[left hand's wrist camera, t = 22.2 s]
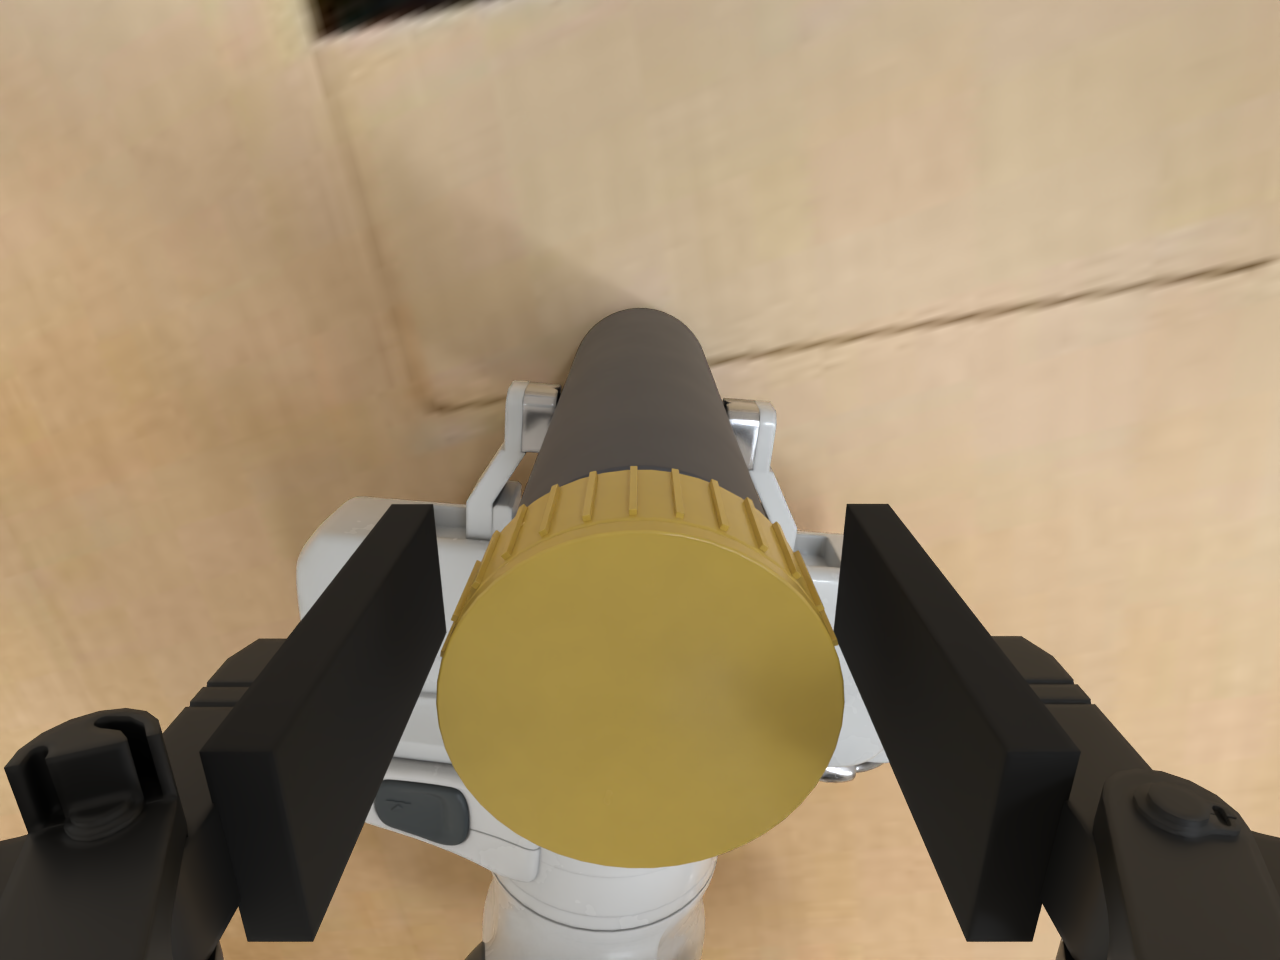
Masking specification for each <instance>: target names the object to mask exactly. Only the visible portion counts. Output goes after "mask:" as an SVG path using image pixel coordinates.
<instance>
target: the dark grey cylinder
mask: <svg viewBox="0 0 1280 960" xmlns="http://www.w3.org/2000/svg"><path fill="white" fill-rule="evenodd" d="M630 466H637V467H638V470H658V471H666V472H671V469H672V468H673V469H678V470H679V474H683V475H687V476H691V477H695V478H699V479H702V480H704V481H707V482H710V481H711V479H713V480H716V481H718V484H719V486H720V487H722V488H724V489H726V490H728V491H729V492H731V493H733V494H735V495H737V496H739V497H740V498H742V499H743V500H745V499H746V497H748V498H750V499H751V500H752V501H753V504H754V507H755V508H756V509H757V510H759V511H760V512H761V513H762V514H763V515H764V516H765V513H764V510H763V508H762V505H761V502H760V500H759V497H758V495H757V492H756V489H755V487H754V484H753V481H752V479H751V476H750V473H749V471H748V468H747V466H746V463H745V460H744V458H743V455H742V452H741V450H740V447H739V444H738V442H737V439H736V437H735V434H734V431H733V429H732V426H731V423H730V421H729V418H728V416H727V413H726V410H725V408H724V405H723V402H722V400H721V397H720V394H719V392H718V389H717V387H716V384H715V381H714V379H713V376H712V373H711V371H710V368H709V365H708V363H707V360H706V358H705V355H704V352H703V350H702V347H701V345H700V343H699V342H698V340H697V338H696V337H695V336H694V334H693V333H692V332H691V331H690V330H689V328H688V327H687V326H686V325H684V324H683V323H682V322H681V321H679V320H678V319H676V318H674V317H673V316H671V315H669V314H666V313H664V312H661V311H658V310H653V309H647V308H634V309H627V310H623V311H619V312H617V313H614V314H611V315H610V316H608V317H606V318H604V319H603V320H601V321H600V322H599V323H597V324H596V325H595V326H594V327H593V328H592V329H591V330H590V331H589V332H588V333H587V335H586V336H585V337H584V339H583V341H582V342H581V344H580V346H579V348H578V351H577V353H576V356H575V358H574V361H573V364H572V366H571V369H570V372H569V374H568V377H567V380H566V382H565V385H564V388H563V390H562V393H561V395H560V398H559V401H558V403H557V406H556V409H555V411H554V414H553V417H552V419H551V422H550V424H549V427H548V430H547V432H546V435H545V438H544V440H543V443H542V446H541V448H540V451H539V454H538V456H537V459H536V461H535V464H534V467H533V469H532V472H531V475H530V477H529V480H528V483H527V485H526V488H525V490H524V493H523V496H522V498H521V501H520V504H519V506H518V509H519V507H520V506H521V505H523V504H525V506H526V507H528V506H529V505H530V504H532V503H533V502H534V501H536V500H537V499H539V498H540V497H542V496H544V495H546V494H548V493H549V492H550V490H551V487H552V486H553V485H556V484H558V485H559V487H561V486H563V485H566V484H569V483H571V482H574V481H576V480H579V479H582V478H586V477H589V473H590V472H593V471H596V472H597V474H601V473H607V472H615V471H623V470H630ZM518 509H517V511H518ZM516 514H517V512H516ZM516 514H515V516H516ZM765 517H766V516H765ZM514 518H515V517H514Z"/></svg>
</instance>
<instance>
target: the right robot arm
mask: <svg viewBox="0 0 1280 960" xmlns="http://www.w3.org/2000/svg"><path fill="white" fill-rule="evenodd" d="M560 395H561V385H558V384H548V383H538V382H529V381H515V380H513V382H512V383H511V385H510V387H509V388H508V392H507V398H506V407H505V440H504V442H503V443H502V445H501V446H500V448H499V449H498V451H497V452H496V454H495V455H494V457H493V458H492V460H491V461H490V463H489V464H488V466H487V467H486V469H485V470H484V472H483V473H482V475H481V476H480V478H479V480H478V482H477V483H476V485H475V487H474V489H473V491H472V493H471V494H470V496H469V498H468V500H467V502H466V505H465V504H452V503H440V502H427V501H414V500H402V499H389V498H377V497H364V496H361V497H353V498H351V499H349V500H347V501H346V502H344V503H343V504H342V505H341V506H340V507H339V508H338V509H337V510H336V511H334V512H333V513H332V514H331V515H330V516H329V517H328V518H327V519H326V520H324V522H323V523H322V524H321V525H320V526H319V527H318V528H317V529H316V530H315V532H314V533H313V534H312V535H311V537H310V538H309V539H308V540H307V542H306V543H305V545H304V546H303V548H302V550H301V552H300V555H299V557H298V561H297V566H296V587H297V598H298V607H299V615H300V621H301V620H302V619H303V617H304V616H305V615H306V614H307V612H308V611H309V610H310V608H311V607H312V606H313V605H314V603H315V602H316V601H317V599H318V598H319V597H320V596H321V594H322V593H323V592H324V590H325V589H326V588H327V587H328V585H329V584H330V583H331V581H332V580H333V579H334V578H335V576H336V575H337V574H338V572H339V571H340V570H341V569H342V567H343V566H344V565H345V563H346V562H347V561H348V560H349V558H350V557H351V556H352V554H353V553H354V552H355V551H356V549H357V548H358V547H359V545H360V544H361V543H362V542H363V540H364V539H365V538H366V536H367V535H368V534H369V533H370V531H371V530H372V529H373V527H374V526H375V525H376V524H377V522H378V521H379V520H380V518H381V517H382V516H383V515H384V513H385V512H386V511H387V509H388V508H389V507H390V506H391V504H433V507H434V517H435V526H436V536H437V545H438V555H439V564H440V574H441V583H442V593H443V602H444V612H445V621H446V631H447V633H446V635H445V638H444V640H443V642H442V644H441V647H440V649H439V651H438V654H437V656H436V658H435V661H434V663H433V665H432V668H431V670H430V672H429V675H428V677H427V679H426V682H425V684H424V686H423V688H422V691H421V693H420V695H419V698H418V700H417V702H416V705H415V707H414V709H413V712H412V714H411V716H410V719H409V721H408V723H407V725H406V728H405V730H404V732H403V735H402V737H401V739H400V742H399V744H398V746H397V749H396V751H395V753H394V756H393V758H392V760H391V762H390V765H389V767H388V769H387V772H386V774H385V776H384V779H383V781H382V783H381V786H380V788H379V790H378V793H377V795H376V797H375V800H374V802H373V804H372V806H371V809H370V811H369V813H368V816H367V818H366V820H365V823H368V824H371V825H374V826H377V827H380V828H383V829H387V830H390V831H393V832H396V833H399V834H402V835H406V836H409V837H412V838H415V839H418V840H420V841H423V842H426V843H429V844H432V845H434V846H437V847H439V848H442V849H444V850H447V851H450V852H452V853H454V854H457V855H459V856H461V857H463V858H466V859H468V860H470V861H472V862H474V863H476V864H478V865H480V866H482V867H484V868H486V869H488V870H490V871H491V873H492V876H493V879H492V881H491V884H490V886H489V890H488V893H487V897H486V901H485V905H484V911H483V928H482V942H481V943H480V944H479V945H478V946H477V947H476V948H475V949H474V950H473V951H472V952H471V953H470V954H469V955H468V956H467V958H466V959H465V960H701V956H702V950H703V945H704V936H705V910H704V903H703V898H702V897H703V895H704V893H705V891H706V889H707V888H708V886H709V884H710V881H711V879H712V876H713V873H714V870H715V867H716V862H717V857H718V856H715V857H712V858H709V859H705V860H702V861H698V862H693V863H688V864H683V865H678V866H670V867H660V868H621V867H611V866H603V865H598V864H592V863H587V862H582V861H579V860H575V859H572V858H569V857H566V856H562V855H559V854H556V853H554V852H552V851H549V850H547V849H545V848H542V847H540V846H538V845H536V844H534V843H532V842H530V841H528V840H527V839H525V838H523V837H521V836H519V835H518V834H516V833H514V832H513V831H512V830H510V829H509V828H508V827H506V826H505V825H503V824H502V823H501V822H499V821H498V820H497V819H496V818H494V817H493V816H492V815H491V814H490V813H489V812H488V811H487V810H486V809H485V808H484V807H482V806H481V805H480V803H479V802H478V801H477V800H476V799H475V798H474V796H473V795H472V794H471V793H470V792H469V790H468V789H467V788H466V787H465V785H464V784H463V782H462V780H461V779H460V777H459V776H458V774H457V772H456V771H455V769H454V767H453V765H452V763H451V761H450V759H449V756H448V754H447V752H446V750H445V747H444V743H443V740H442V736H441V733H440V729H439V724H438V716H437V708H436V693H437V679H438V674H439V669H440V664H441V659H442V657H440V653H441V650H442V647H443V645H444V643H445V640H446V638H447V635H448V633H449V631H450V628H451V626H452V624H453V621H451V618H452V615H453V613H454V611H455V608H456V606H457V604H458V602H459V599H460V597H461V595H462V592H463V590H464V588H465V586H466V583H467V581H468V579H469V576H470V574H471V572H472V570H473V567H474V565H475V563H476V561H477V560H479V561H482V559H483V556H484V554H485V551H486V549H487V547H488V544H489V542H490V540H491V537H492V535H493V533H494V532H495V531H496V530H498V531H499V532H501V531H502V530H503V529H504V527H505V526H506V525H507V524H508V523H509V522H510V521H511V520H512V519H514V517H515V514H516V512H517V509H518V506H519V504H520V501H521V484H520V483H519V481H508V479H509V478H510V476H511V475H512V473H513V472H514V470H515V469H516V467H517V466H518V464H519V463H520V461H521V460H522V458H523V457H524V455H525V454H526V452H537V453H539V451H540V448H541V446H542V443H543V440H544V438H545V435H546V432H547V430H548V427H549V424H550V422H551V419H552V417H553V414H554V411H555V409H556V406H557V403H558V401H559V398H560ZM722 402H723V405H724V408H725V410H726V413H727V416H728V418H729V421H730V423H731V426H732V429H733V431H734V434H735V437H736V439H737V442H738V444H739V447H740V450H741V452H742V455H743V458H744V460H745V463H746V466H747V468H748V471H749V473H750V476H751V479H752V481H753V484H754V487H755V489H756V491H757V493H758V496H759V498H760V500H761V505H762V508H763V510H764V513H765V516H766V518H767V519H768V520H769V521H770V522H771V523H772V524H773V523H775V522H776V521H777V522H778V523H779V524H780V525H781V528H782V530H783V533H784V535H785V537H786V540H787V542H788V543H789V545H790V547H791V548H792V550H793V552H796V551H798V550H799V552H800V554H801V555H802V558H803V560H804V562H805V565H806V567H807V569H808V572H809V574H810V576H811V578H812V581H813V583H814V585H815V588H816V590H817V592H818V594H819V597H820V599H821V601H822V604H823V606H824V608H825V609H824V610H825V613H826V615H827V617H828V620H829V622H830V624H831V627H832V629H833V631H834V621H835V612H836V602H837V593H838V583H839V574H840V564H841V555H842V545H843V536H844V534H834V533H821V532H809V531H797V527H796V525H795V522H794V520H793V517H792V515H791V513H790V510H789V508H788V506H787V503H786V501H785V499H784V496H783V494H782V492H781V489H780V487H779V485H778V482H777V480H776V477H775V475H774V473H773V471H772V468H771V466H770V463H771V457H772V450H773V444H774V437H775V431H776V410H775V409H774V407H773V405H772V404H771V402H769V401H756V400H744V399H730V398H724V399H723V401H722ZM834 647H835V649H836V652H837V655H838V657H839V661H840V666H841V671H842V675H843V680H844V699H845V704H844V713H843V723H842V728H841V731H840V735H839V739H838V742H837V746H836V749H835V751H834V753H833V756H832V758H831V760H830V762H829V765H828V767H827V769H826V770H825V772H824V774H823V775H822V777H821V778H820V780H819V781H821V782H828V783H841V782H848V781H852V780H853V779H854V778H855V774H856V773H859V772H865V771H868V770H872V769H874V768H876V767H878V766H880V765H882V764H884V763H889V760H888V758H887V756H886V753H885V751H884V749H883V746H882V744H881V742H880V739H879V737H878V735H877V732H876V730H875V728H874V725H873V723H872V721H871V719H870V716H869V714H868V712H867V709H866V707H865V705H864V702H863V700H862V698H861V695H860V693H859V691H858V688H857V686H856V684H855V682H854V679H853V677H852V675H851V672H850V670H849V668H848V665H847V663H846V661H845V658H844V656H843V654H842V651H841V649H840V647H839V644H838V645H837V646H834Z"/></svg>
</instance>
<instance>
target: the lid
mask: <svg viewBox="0 0 1280 960" xmlns="http://www.w3.org/2000/svg"><path fill="white" fill-rule="evenodd" d="M824 609H825V608H824V606H823V604H822V601H821V599H820V597H819V594H818V592H817V590H816V588H815V585H814V583H813V581H812V578H811V576H810V574H809V572H808V569H807V567H806V565H805V562H804V560H803V558H802V555H801V554H800V552H799V550H798V551H796V552H793V550H792V548H791V547H790V545H789V543H788V542H787V540H786V537H785V535H784V533H783V530H782V528H781V525H780V524H779V523H778V522H777V521H776V522H775V523H773V524H772V523H771V522H770V521H769V520H768V519H767V518H766V517H765V516H764V515H763V514H762V513H761V512H760V511H759V510H757V509H756V508H755V507H754V504H753V501H752V500H751V499H750V498H748V497H746V499H745V500H743V499H742V498H740V497H739V496H737V495H735V494H733V493H731V492H729V491H728V490H726V489H724V488H722V487H720V486H719V484H718V481H716V480H713V479H711V481H710V482H707V481H704V480H702V479H699V478H695V477H691V476H687V475H683V474H679V470H678V469H673V468H672V469H671V472H666V471H658V470H638V467H637V466H630V470H623V471H615V472H607V473H601V474H597V472H596V471H593V472H590V473H589V477H586V478H582V479H579V480H576V481H574V482H571V483H569V484H566V485H563V486H561V487H559V485H558V484H556V485H553V486H552V487H551V490H550V492H549V493H548V494H546V495H544V496H542V497H540V498H539V499H537V500H536V501H534V502H533V503H532V504H530V505H529V506H528V507H526V506H525V504H523V505H521V506H520V507H519V509H518V511H517V514H516V516H515V518H514V519H512V520H511V521H510V522H509V523H508V524H507V525H506V526H505V527H504V529H503V530H502V531H501V532H499V531H498V530H496V531H495V532H494V533H493V535H492V537H491V540H490V542H489V544H488V547H487V549H486V551H485V554H484V556H483V559H482V561H479V560H477V561H476V563H475V565H474V567H473V570H472V572H471V574H470V576H469V579H468V581H467V583H466V586H465V588H464V590H463V592H462V595H461V597H460V599H459V602H458V604H457V606H456V608H455V611H454V613H453V615H452V618H451V621H453V624H452V626H451V628H450V631H449V633H448V635H447V638H446V640H445V643H444V645H443V647H442V650H441V653H440V657H442V659H441V664H440V669H439V674H438V679H437V693H436V708H437V716H438V724H439V729H440V733H441V736H442V740H443V743H444V747H445V750H446V752H447V754H448V756H449V759H450V761H451V763H452V765H453V767H454V769H455V771H456V772H457V774H458V776H459V777H460V779H461V780H462V782H463V784H464V785H465V787H466V788H467V789H468V790H469V792H470V793H471V794H472V795H473V796H474V798H475V799H476V800H477V801H478V802H479V803H480V805H481V806H482V807H484V808H485V809H486V810H487V811H488V812H489V813H490V814H491V815H492V816H493V817H494V818H496V819H497V820H498V821H499V822H501V823H502V824H503V825H505V826H506V827H508V828H509V829H510V830H512V831H513V832H514V833H516V834H518V835H519V836H521V837H523V838H525V839H527V840H528V841H530V842H532V843H534V844H536V845H538V846H540V847H542V848H545V849H547V850H549V851H552V852H554V853H556V854H559V855H562V856H566V857H569V858H572V859H575V860H579V861H582V862H587V863H592V864H598V865H603V866H611V867H621V868H660V867H670V866H678V865H683V864H688V863H693V862H698V861H702V860H705V859H709V858H712V857H715V856H718V855H721V854H724V853H727V852H729V851H731V850H734V849H736V848H738V847H741V846H743V845H745V844H747V843H749V842H751V841H752V840H754V839H756V838H758V837H759V836H761V835H763V834H765V833H766V832H768V831H769V830H770V829H772V828H773V827H775V826H776V825H777V824H779V823H780V822H781V821H783V820H784V819H785V818H786V817H787V816H788V815H790V814H791V813H792V812H793V811H794V810H795V809H796V808H797V807H798V806H799V805H800V804H801V803H802V802H803V801H804V800H805V798H806V797H807V796H808V795H809V794H810V792H811V791H812V790H813V789H814V788H815V786H816V785H817V783H818V782H819V780H820V778H821V777H822V775H823V774H824V772H825V770H826V769H827V767H828V765H829V762H830V760H831V758H832V756H833V753H834V751H835V749H836V746H837V742H838V739H839V735H840V731H841V728H842V723H843V713H844V704H845V699H844V680H843V675H842V671H841V666H840V661H839V657H838V655H837V652H836V649H835V647H834V646H837V645H838V641H837V638H836V636H835V633H834V631H833V629H832V627H831V624H830V622H829V620H828V617H827V615H826V613H825V610H824Z"/></svg>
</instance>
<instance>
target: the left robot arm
mask: <svg viewBox="0 0 1280 960" xmlns="http://www.w3.org/2000/svg"><path fill="white" fill-rule="evenodd" d="M446 633H447V631H446V621H445V612H444V602H443V593H442V583H441V574H440V564H439V555H438V545H437V536H436V526H435V517H434V507H433V504H391V506H390V507H389V508H388V509H387V511H386V512H385V513H384V515H383V516H382V517H381V518H380V520H379V521H378V522H377V524H376V525H375V526H374V527H373V529H372V530H371V531H370V533H369V534H368V535H367V536H366V538H365V539H364V540H363V542H362V543H361V544H360V545H359V547H358V548H357V549H356V551H355V552H354V553H353V554H352V556H351V557H350V558H349V560H348V561H347V562H346V563H345V565H344V566H343V567H342V569H341V570H340V571H339V572H338V574H337V575H336V576H335V578H334V579H333V580H332V581H331V583H330V584H329V585H328V587H327V588H326V589H325V590H324V592H323V593H322V594H321V596H320V597H319V598H318V599H317V601H316V602H315V603H314V605H313V606H312V607H311V608H310V610H309V611H308V612H307V614H306V615H305V616H304V617H303V619H302V620H301V621H300V623H299V624H298V625H297V626H296V628H295V629H294V630H293V632H292V633H291V634H290V635H289V637H288V638H287V639H258V640H256V641H255V642H253V643H252V644H250V645H248V646H247V647H245V648H244V649H242V650H241V651H239V652H238V653H236V654H234V655H233V656H231V657H230V658H228V659H227V660H226V661H225V662H224V664H223V665H222V666H221V667H220V668H219V669H218V670H217V672H216V673H215V674H214V675H213V676H212V677H211V678H210V680H209V681H208V682H207V687H203V688H202V689H201V690H200V691H199V692H198V693H197V695H196V696H195V697H194V698H193V699H192V700H191V701H190V706H189V707H185V708H184V709H183V711H182V712H181V713H180V714H179V715H178V716H177V718H176V719H175V720H174V721H173V722H172V723H171V724H170V726H169V727H168V728H167V729H166V730H165V731H164V732H163V734H162V731H161V727H160V724H159V720H158V719H157V718H155V717H154V716H152V715H151V714H150V713H148V712H147V711H142V710H135V709H129V708H122V709H113V710H104V711H98V712H95V713H91V714H88V715H84V716H81V717H78V718H74V719H71V720H69V721H66V722H64V723H62V724H60V725H58V726H56V727H54V728H52V729H50V730H48V731H45V732H43V733H42V734H40V735H39V736H37V737H36V738H35V739H33V740H32V741H30V742H29V743H28V744H26V745H25V746H23V747H22V748H21V749H19V750H18V751H17V752H16V754H15V755H14V756H13V757H12V759H11V760H10V761H9V762H8V763H7V765H6V766H5V767H4V769H5V772H6V775H7V777H8V780H9V783H10V785H11V788H12V791H13V794H14V796H15V799H16V802H17V804H18V807H19V810H20V812H21V815H22V818H23V820H24V823H25V826H26V828H27V831H28V835H24V836H21V837H17V838H12V839H8V840H3V841H0V960H224V959H223V953H222V949H221V945H220V942H219V940H220V938H221V936H222V935H223V933H224V931H225V929H226V927H227V926H228V924H229V922H230V920H231V918H232V917H233V915H234V913H235V911H236V909H237V908H238V906H239V910H240V914H241V918H242V921H243V925H244V929H245V933H246V937H247V941H248V942H313V941H314V938H315V936H316V934H317V931H318V929H319V927H320V924H321V922H322V920H323V918H324V915H325V913H326V911H327V908H328V906H329V904H330V901H331V899H332V897H333V894H334V892H335V890H336V887H337V885H338V883H339V881H340V878H341V876H342V874H343V871H344V869H345V867H346V864H347V862H348V860H349V857H350V855H351V853H352V850H353V848H354V846H355V843H356V841H357V839H358V837H359V834H360V832H361V830H362V827H363V825H364V823H365V820H366V818H367V816H368V813H369V811H370V809H371V806H372V804H373V802H374V800H375V797H376V795H377V793H378V790H379V788H380V786H381V783H382V781H383V779H384V776H385V774H386V772H387V769H388V767H389V765H390V762H391V760H392V758H393V756H394V753H395V751H396V749H397V746H398V744H399V742H400V739H401V737H402V735H403V732H404V730H405V728H406V725H407V723H408V721H409V719H410V716H411V714H412V712H413V709H414V707H415V705H416V702H417V700H418V698H419V695H420V693H421V691H422V688H423V686H424V684H425V682H426V679H427V677H428V675H429V672H430V670H431V668H432V665H433V663H434V661H435V658H436V656H437V654H438V651H439V649H440V647H441V644H442V642H443V640H444V638H445V635H446ZM834 633H835V636H836V638H837V641H838V644H839V647H840V649H841V651H842V654H843V656H844V658H845V661H846V663H847V665H848V668H849V670H850V672H851V675H852V677H853V679H854V682H855V684H856V686H857V688H858V691H859V693H860V695H861V698H862V700H863V702H864V705H865V707H866V709H867V712H868V714H869V716H870V719H871V721H872V723H873V725H874V728H875V730H876V732H877V735H878V737H879V739H880V742H881V744H882V746H883V749H884V751H885V753H886V756H887V758H888V760H889V763H890V765H891V767H892V769H893V772H894V774H895V776H896V779H897V781H898V783H899V786H900V788H901V790H902V793H903V795H904V797H905V800H906V802H907V804H908V806H909V809H910V811H911V813H912V816H913V818H914V820H915V823H916V825H917V827H918V830H919V832H920V834H921V837H922V839H923V841H924V844H925V846H926V848H927V850H928V853H929V855H930V857H931V860H932V862H933V864H934V867H935V869H936V871H937V874H938V876H939V878H940V881H941V883H942V885H943V887H944V890H945V892H946V894H947V897H948V899H949V901H950V904H951V906H952V908H953V911H954V913H955V915H956V918H957V920H958V922H959V924H960V927H961V929H962V931H963V934H964V936H965V938H966V941H967V942H1032V941H1033V937H1034V933H1035V929H1036V925H1037V921H1038V918H1039V914H1040V910H1041V906H1042V904H1043V906H1044V907H1045V909H1046V911H1047V913H1048V915H1049V916H1050V918H1051V920H1052V922H1053V923H1054V925H1055V927H1056V929H1057V931H1058V932H1059V934H1060V936H1061V942H1060V945H1059V949H1058V953H1057V956H1056V960H1280V838H1278V837H1274V836H1269V835H1265V834H1261V833H1257V832H1254V831H1251V830H1250V829H1249V827H1248V826H1247V824H1246V823H1245V822H1244V820H1243V819H1242V817H1241V816H1240V814H1239V813H1238V812H1237V811H1235V810H1234V809H1233V808H1232V807H1230V806H1229V805H1228V804H1227V803H1226V802H1224V801H1223V800H1222V799H1221V798H1220V797H1218V796H1217V795H1215V794H1214V793H1212V792H1210V791H1208V790H1206V789H1204V788H1202V787H1201V786H1199V785H1197V784H1195V783H1193V782H1191V781H1189V780H1186V779H1183V778H1180V777H1177V776H1174V775H1171V774H1168V773H1165V772H1162V771H1155V770H1152V769H1151V768H1150V767H1149V765H1148V764H1147V763H1146V762H1145V761H1144V760H1143V759H1142V757H1141V756H1140V755H1139V754H1138V753H1137V752H1136V751H1135V749H1134V748H1133V747H1132V746H1131V745H1130V744H1129V743H1128V741H1127V740H1126V739H1125V738H1124V737H1123V736H1122V735H1121V733H1120V732H1119V731H1118V730H1117V729H1116V728H1115V727H1114V725H1113V724H1112V723H1111V722H1110V721H1109V720H1108V719H1107V717H1106V716H1105V715H1104V714H1103V713H1102V712H1101V711H1100V709H1099V708H1098V707H1097V706H1096V705H1095V704H1091V699H1090V698H1089V697H1088V696H1087V695H1086V693H1085V692H1084V691H1083V690H1082V689H1081V688H1080V687H1079V685H1078V684H1074V682H1073V679H1072V678H1071V676H1070V675H1069V674H1068V673H1067V672H1066V671H1065V670H1064V668H1063V667H1062V666H1061V665H1060V664H1059V663H1058V662H1057V660H1056V659H1055V658H1054V657H1053V656H1052V655H1050V654H1048V653H1047V652H1045V651H1044V650H1042V649H1041V648H1039V647H1037V646H1036V645H1034V644H1033V643H1031V642H1030V641H1028V640H1026V639H1025V638H1023V637H1022V636H991V635H990V634H989V633H988V632H987V630H986V629H985V628H984V626H983V625H982V624H981V623H980V621H979V620H978V619H977V617H976V616H975V615H974V614H973V612H972V611H971V610H970V608H969V607H968V606H967V605H966V603H965V602H964V601H963V599H962V598H961V597H960V596H959V594H958V593H957V592H956V590H955V589H954V588H953V587H952V585H951V584H950V583H949V581H948V580H947V579H946V578H945V576H944V575H943V574H942V572H941V571H940V570H939V569H938V567H937V566H936V565H935V563H934V562H933V561H932V560H931V558H930V557H929V556H928V554H927V553H926V552H925V551H924V549H923V548H922V547H921V545H920V544H919V543H918V542H917V540H916V539H915V538H914V536H913V535H912V534H911V533H910V531H909V530H908V529H907V527H906V526H905V525H904V524H903V522H902V521H901V520H900V518H899V517H898V516H897V515H896V513H895V512H894V511H893V509H892V508H891V507H890V506H889V504H847V507H846V517H845V526H844V536H843V545H842V555H841V564H840V574H839V583H838V593H837V602H836V612H835V621H834Z"/></svg>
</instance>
